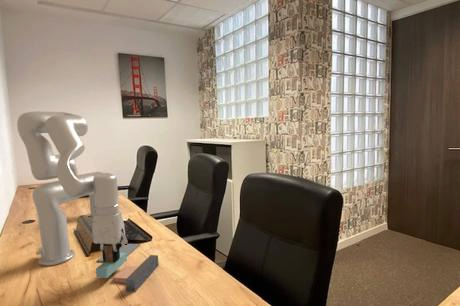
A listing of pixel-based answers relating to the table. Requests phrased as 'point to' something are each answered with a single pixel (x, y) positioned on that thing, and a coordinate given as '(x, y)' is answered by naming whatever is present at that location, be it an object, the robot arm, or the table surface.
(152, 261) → the bar
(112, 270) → the push block
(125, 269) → the terracotta tile
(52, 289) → the table surface
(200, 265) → the table surface
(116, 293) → the table surface
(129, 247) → the mat
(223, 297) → the table surface
